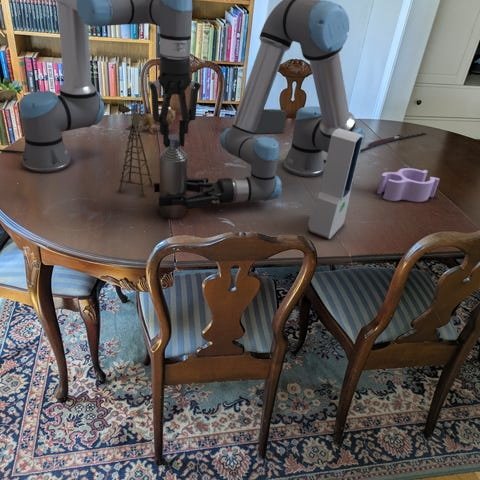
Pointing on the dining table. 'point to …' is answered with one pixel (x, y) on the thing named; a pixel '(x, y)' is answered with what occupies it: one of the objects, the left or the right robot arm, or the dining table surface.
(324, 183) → the electronic device
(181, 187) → the bottle
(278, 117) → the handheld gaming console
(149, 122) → the lion figurine
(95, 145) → the dining table surface
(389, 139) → the sword
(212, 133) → the dining table surface
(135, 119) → the miniature windmill
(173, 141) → the cap
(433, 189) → the clip
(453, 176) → the dining table surface
